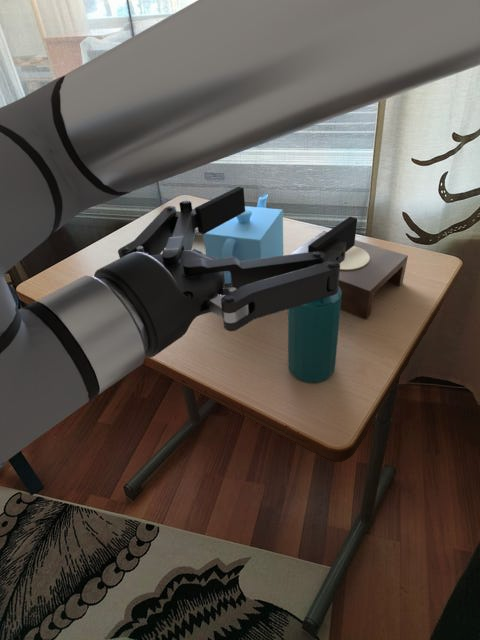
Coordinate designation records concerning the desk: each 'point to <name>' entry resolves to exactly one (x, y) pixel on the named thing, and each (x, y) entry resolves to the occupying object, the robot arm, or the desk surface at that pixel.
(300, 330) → the bottle
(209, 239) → the teapot
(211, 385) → the desk surface
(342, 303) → the dark brown wooden block
